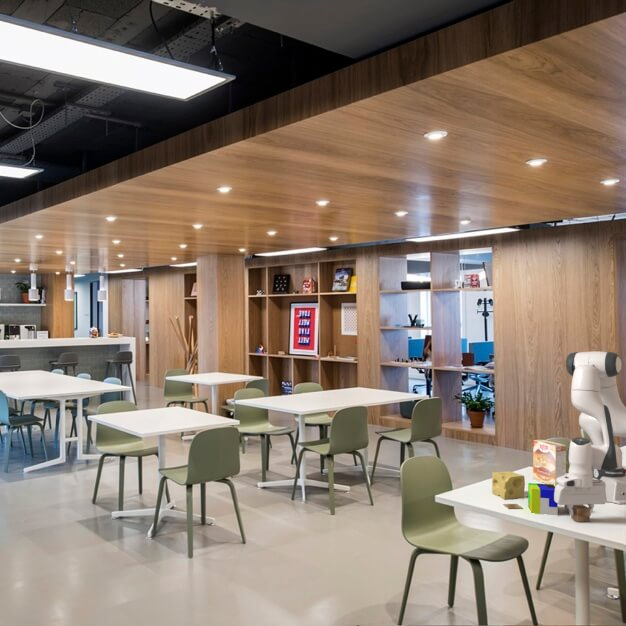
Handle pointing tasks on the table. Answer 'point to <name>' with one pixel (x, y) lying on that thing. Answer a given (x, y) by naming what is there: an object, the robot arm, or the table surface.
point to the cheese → (508, 485)
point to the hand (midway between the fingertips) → (580, 515)
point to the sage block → (566, 508)
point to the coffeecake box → (548, 461)
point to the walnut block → (581, 513)
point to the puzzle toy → (542, 499)
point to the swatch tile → (512, 506)
